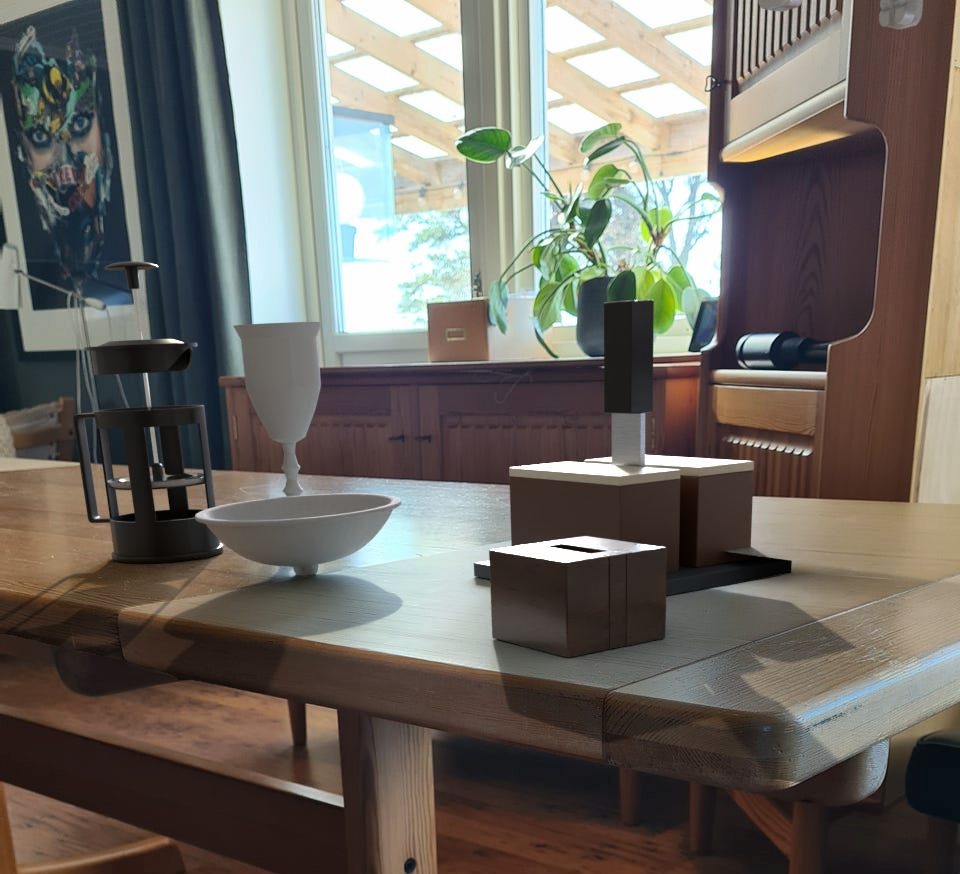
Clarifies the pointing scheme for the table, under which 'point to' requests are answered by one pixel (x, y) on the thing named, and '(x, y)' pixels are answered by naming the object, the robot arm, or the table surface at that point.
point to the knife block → (578, 594)
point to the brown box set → (647, 513)
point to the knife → (628, 376)
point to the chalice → (283, 383)
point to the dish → (300, 527)
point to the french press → (147, 529)
